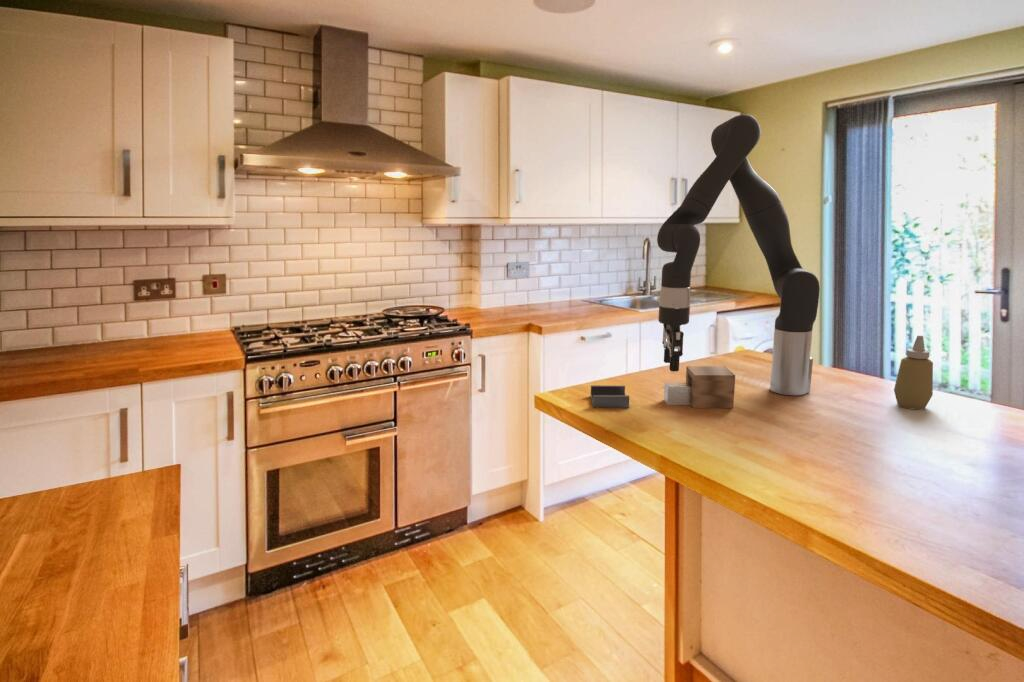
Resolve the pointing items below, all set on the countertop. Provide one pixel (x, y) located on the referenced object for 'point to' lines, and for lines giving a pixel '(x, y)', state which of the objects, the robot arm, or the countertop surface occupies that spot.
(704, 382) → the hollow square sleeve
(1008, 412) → the countertop surface
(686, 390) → the shiny metal block
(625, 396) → the grey channel block
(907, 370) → the squeeze bottle
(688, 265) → the robot arm
